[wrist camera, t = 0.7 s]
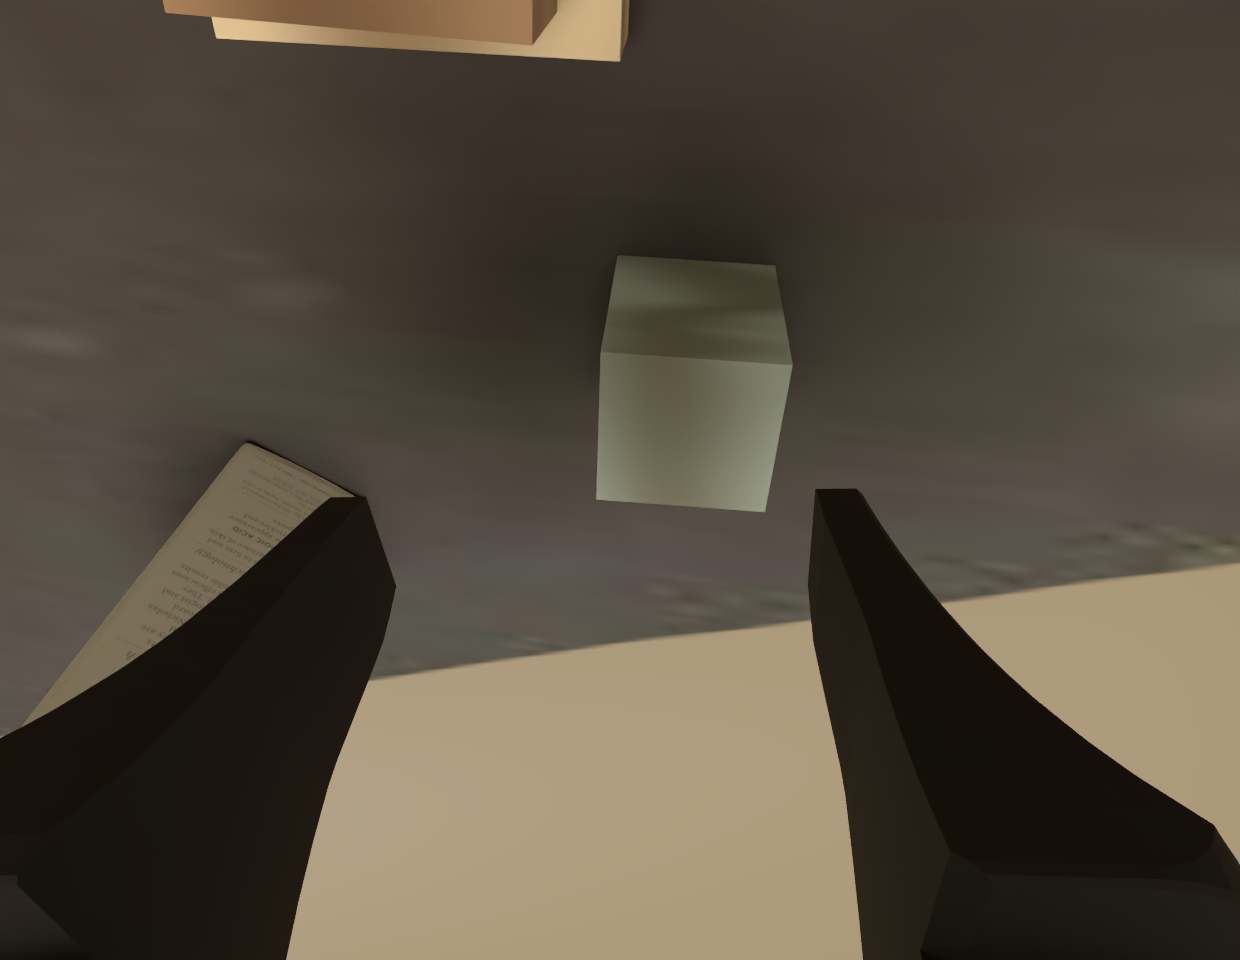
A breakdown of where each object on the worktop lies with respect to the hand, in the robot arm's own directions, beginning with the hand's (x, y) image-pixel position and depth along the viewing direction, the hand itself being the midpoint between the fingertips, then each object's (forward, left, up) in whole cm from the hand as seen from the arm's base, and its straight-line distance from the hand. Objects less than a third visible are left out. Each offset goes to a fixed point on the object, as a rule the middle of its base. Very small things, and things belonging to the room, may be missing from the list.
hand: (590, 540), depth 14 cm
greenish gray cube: (-2, +2, -10) cm, 11 cm away
